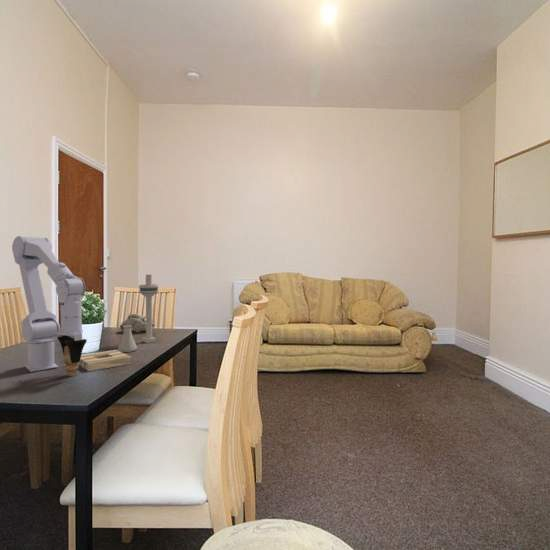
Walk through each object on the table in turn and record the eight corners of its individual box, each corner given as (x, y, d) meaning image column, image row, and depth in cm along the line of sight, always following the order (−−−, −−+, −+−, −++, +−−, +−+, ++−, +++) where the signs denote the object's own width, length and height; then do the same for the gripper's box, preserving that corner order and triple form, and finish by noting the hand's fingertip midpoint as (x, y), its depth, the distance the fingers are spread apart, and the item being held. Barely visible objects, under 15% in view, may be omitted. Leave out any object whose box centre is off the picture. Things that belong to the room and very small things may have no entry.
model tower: (162, 341, 169) (162, 274, 168) (144, 344, 163) (144, 275, 162) (153, 338, 175) (152, 274, 174) (135, 341, 169) (135, 274, 168)
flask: (128, 353, 147) (128, 327, 147) (113, 351, 149) (113, 326, 149) (141, 349, 154) (140, 325, 153) (126, 348, 156) (126, 324, 156)
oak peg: (63, 375, 118) (62, 346, 118) (77, 372, 121) (76, 344, 120) (66, 377, 115) (66, 348, 115) (80, 375, 118) (80, 346, 117)
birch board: (75, 363, 132) (75, 355, 132) (116, 356, 142) (116, 349, 142) (88, 371, 122) (88, 363, 122) (131, 363, 131) (131, 356, 131)
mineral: (150, 329, 186) (154, 310, 191) (115, 327, 186) (119, 308, 191) (156, 337, 197) (159, 319, 202) (123, 335, 197) (127, 317, 202)
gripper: (50, 315, 120) (51, 358, 120) (63, 320, 109) (63, 367, 109) (75, 313, 125) (75, 354, 125) (89, 318, 114) (89, 362, 114)
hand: (72, 360), depth 118 cm, fingers open, 7 cm apart
